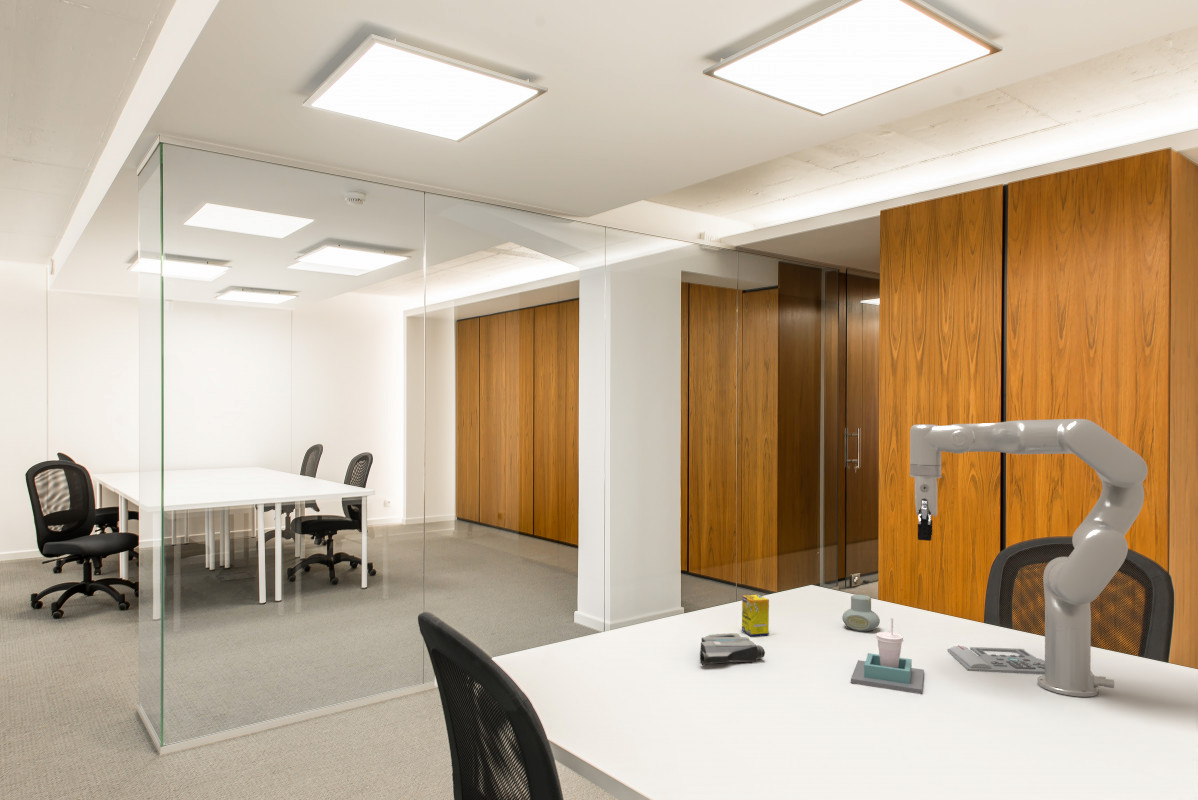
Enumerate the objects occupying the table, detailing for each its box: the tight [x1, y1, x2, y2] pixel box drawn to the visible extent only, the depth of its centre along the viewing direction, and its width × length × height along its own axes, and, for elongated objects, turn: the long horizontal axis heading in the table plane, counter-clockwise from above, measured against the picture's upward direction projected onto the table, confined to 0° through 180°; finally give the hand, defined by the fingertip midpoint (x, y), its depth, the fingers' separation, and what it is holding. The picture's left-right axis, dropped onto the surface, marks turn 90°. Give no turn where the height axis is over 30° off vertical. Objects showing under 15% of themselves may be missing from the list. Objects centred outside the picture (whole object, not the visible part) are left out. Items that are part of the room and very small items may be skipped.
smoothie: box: [875, 617, 904, 668], centre depth 190 cm, size 6×6×14 cm
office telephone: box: [947, 645, 1045, 675], centre depth 205 cm, size 23×3×20 cm
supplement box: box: [741, 594, 770, 638], centre depth 227 cm, size 6×6×11 cm
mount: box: [850, 653, 925, 695], centre depth 190 cm, size 16×16×4 cm
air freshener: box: [841, 594, 881, 633], centre depth 234 cm, size 11×8×10 cm
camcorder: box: [699, 632, 766, 666], centre depth 204 cm, size 16×20×5 cm
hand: (925, 537), depth 197 cm, fingers open, 9 cm apart
